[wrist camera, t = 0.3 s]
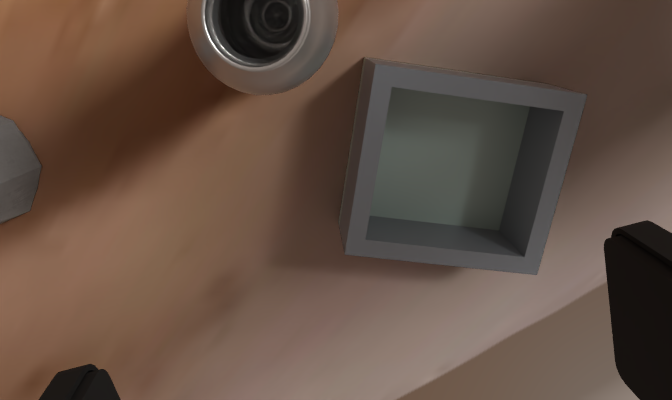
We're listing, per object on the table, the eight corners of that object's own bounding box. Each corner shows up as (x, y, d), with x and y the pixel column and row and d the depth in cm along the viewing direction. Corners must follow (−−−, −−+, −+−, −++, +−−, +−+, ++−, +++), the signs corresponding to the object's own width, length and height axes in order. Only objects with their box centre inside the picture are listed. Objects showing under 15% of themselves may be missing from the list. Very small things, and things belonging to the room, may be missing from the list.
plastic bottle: (342, -5, 37) (390, -29, 18) (294, 84, 39) (293, 148, 20) (256, -58, 36) (210, -143, 17) (210, 37, 37) (122, 57, 18)
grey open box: (546, 83, 40) (587, 94, 34) (505, 241, 44) (536, 275, 38) (363, 57, 38) (375, 63, 33) (338, 222, 42) (344, 254, 36)
